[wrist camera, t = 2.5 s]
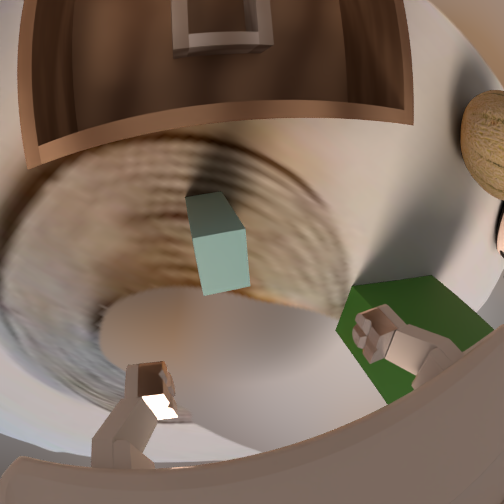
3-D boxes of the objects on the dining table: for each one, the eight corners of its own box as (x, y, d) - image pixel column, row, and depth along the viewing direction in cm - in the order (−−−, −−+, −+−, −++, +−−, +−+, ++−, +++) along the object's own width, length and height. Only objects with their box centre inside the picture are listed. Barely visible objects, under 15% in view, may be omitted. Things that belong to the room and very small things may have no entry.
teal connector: (192, 240, 24) (203, 295, 17) (185, 197, 22) (192, 238, 15) (226, 234, 24) (250, 286, 17) (221, 191, 22) (245, 228, 15)
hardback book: (431, 275, 37) (530, 368, 17) (414, 311, 40) (499, 404, 20) (351, 285, 32) (479, 436, 12) (335, 330, 35) (432, 471, 15)
